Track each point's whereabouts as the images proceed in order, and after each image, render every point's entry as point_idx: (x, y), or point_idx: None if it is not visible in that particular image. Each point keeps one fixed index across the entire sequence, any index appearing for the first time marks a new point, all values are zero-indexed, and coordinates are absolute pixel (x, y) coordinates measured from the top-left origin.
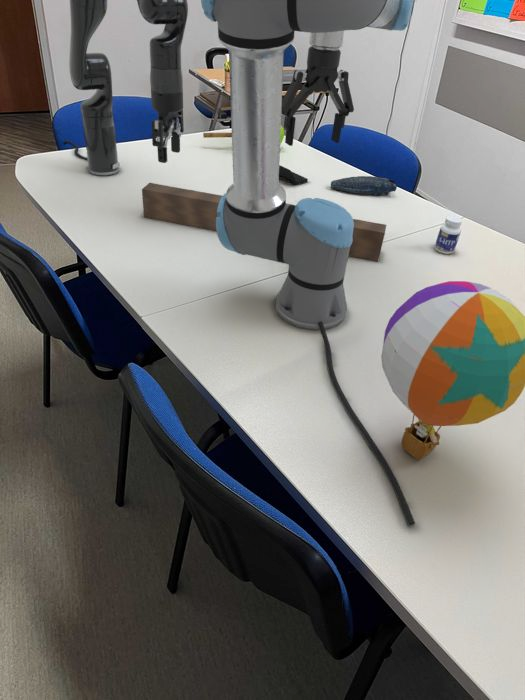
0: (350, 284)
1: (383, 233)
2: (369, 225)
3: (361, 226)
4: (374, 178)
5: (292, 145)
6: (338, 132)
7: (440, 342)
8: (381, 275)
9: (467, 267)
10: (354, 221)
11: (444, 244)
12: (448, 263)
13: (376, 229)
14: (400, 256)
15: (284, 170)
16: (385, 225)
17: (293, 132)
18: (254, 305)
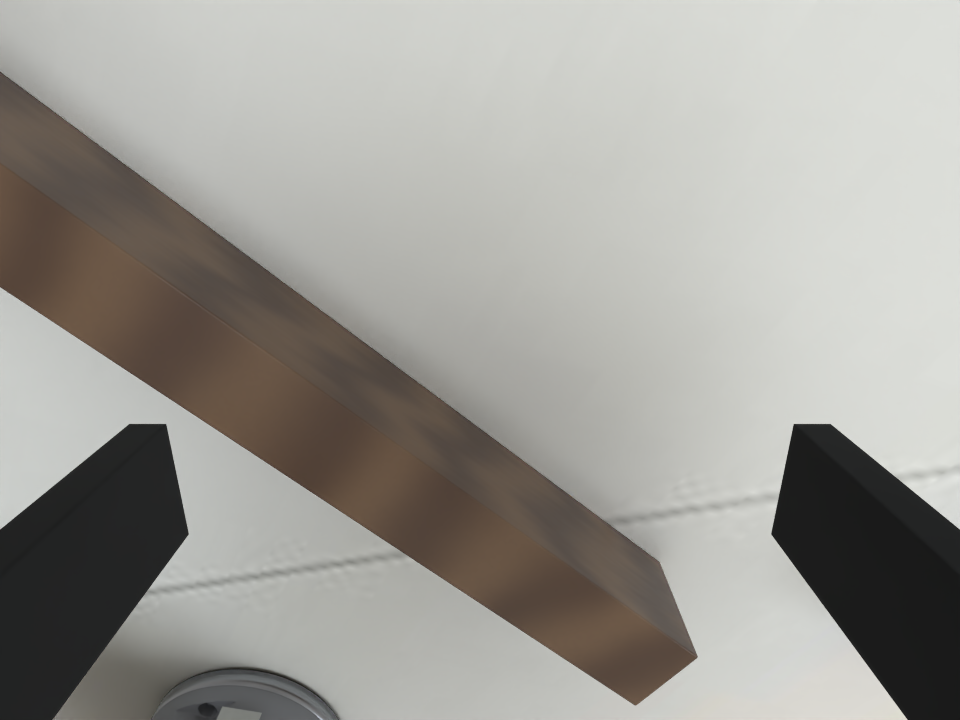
0: (430, 679)
1: (631, 700)
2: (618, 645)
3: (576, 643)
4: None
5: (185, 536)
6: (839, 625)
7: None
8: (559, 668)
9: (876, 706)
10: (576, 601)
11: None
12: (839, 674)
13: (622, 677)
14: (716, 599)
15: None
16: (688, 662)
17: (96, 646)
18: (101, 684)
